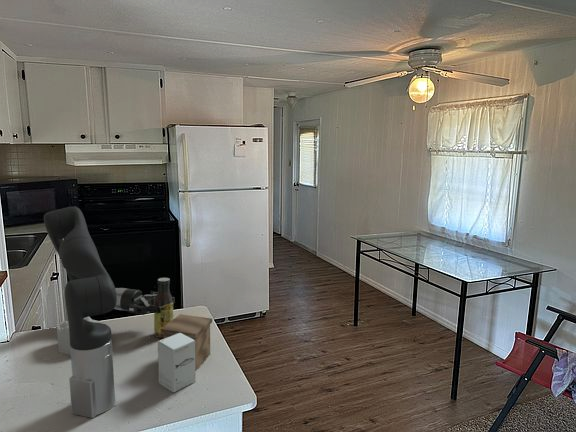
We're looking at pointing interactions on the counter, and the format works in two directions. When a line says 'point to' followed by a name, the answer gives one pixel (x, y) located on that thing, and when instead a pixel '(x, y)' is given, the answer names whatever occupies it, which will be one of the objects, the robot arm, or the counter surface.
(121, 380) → the counter surface
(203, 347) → the brown wooden box
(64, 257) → the robot arm
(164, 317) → the sauce bottle
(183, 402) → the counter surface
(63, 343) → the lumpy-topped squat cylinder
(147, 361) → the counter surface
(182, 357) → the supplement box
